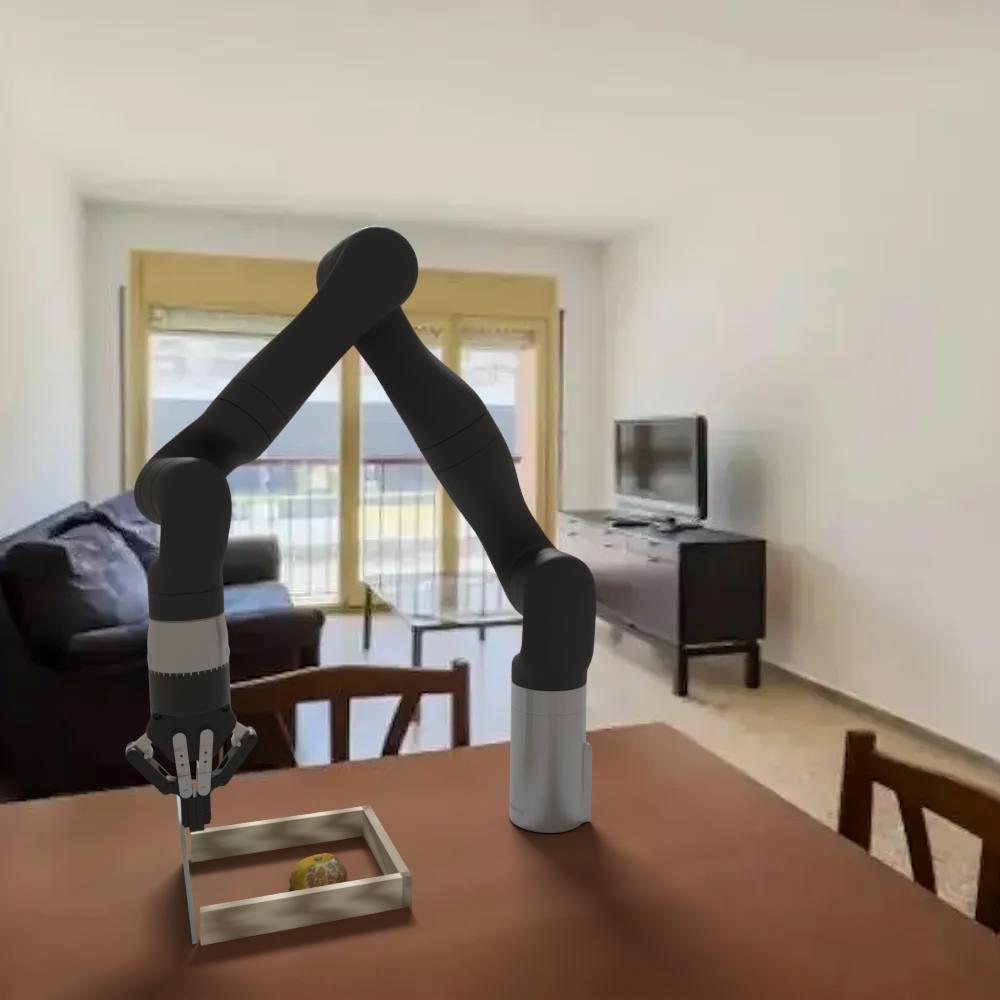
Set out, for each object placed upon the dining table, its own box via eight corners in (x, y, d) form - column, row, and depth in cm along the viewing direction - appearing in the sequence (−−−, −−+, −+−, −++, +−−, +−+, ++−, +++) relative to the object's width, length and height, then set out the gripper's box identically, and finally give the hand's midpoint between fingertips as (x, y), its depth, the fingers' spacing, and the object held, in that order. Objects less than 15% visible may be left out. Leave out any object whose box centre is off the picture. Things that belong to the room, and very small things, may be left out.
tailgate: (188, 860, 100) (180, 790, 99) (197, 943, 84) (187, 860, 83) (184, 860, 100) (176, 790, 99) (192, 944, 84) (183, 862, 83)
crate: (369, 834, 108) (369, 805, 108) (411, 909, 91) (411, 875, 91) (190, 861, 101) (190, 830, 100) (200, 949, 84) (200, 912, 84)
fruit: (319, 927, 88) (319, 891, 88) (267, 898, 94) (267, 863, 93) (383, 895, 95) (383, 860, 94) (331, 868, 100) (331, 836, 100)
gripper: (254, 643, 96) (259, 803, 98) (117, 657, 91) (125, 824, 93) (262, 661, 89) (268, 833, 91) (115, 677, 84) (124, 857, 86)
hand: (196, 828), depth 92 cm, fingers closed
